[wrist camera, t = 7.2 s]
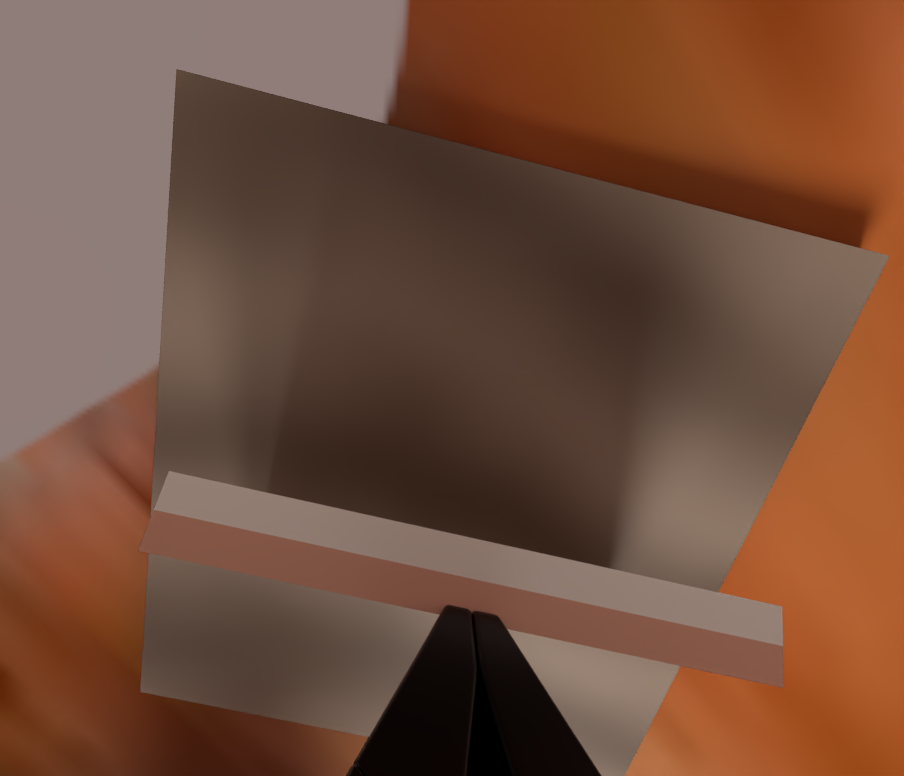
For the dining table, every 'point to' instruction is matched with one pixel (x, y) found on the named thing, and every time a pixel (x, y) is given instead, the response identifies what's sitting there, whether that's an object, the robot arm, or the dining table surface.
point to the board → (462, 390)
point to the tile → (464, 578)
